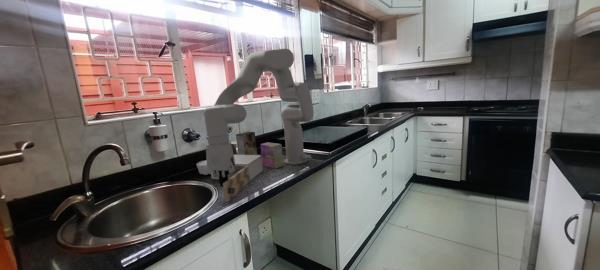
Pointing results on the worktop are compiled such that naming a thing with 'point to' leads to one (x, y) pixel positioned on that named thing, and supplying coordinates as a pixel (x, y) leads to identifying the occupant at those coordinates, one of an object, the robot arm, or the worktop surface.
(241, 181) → the door
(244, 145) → the coffee box
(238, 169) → the box
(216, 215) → the worktop surface
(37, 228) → the worktop surface
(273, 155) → the box
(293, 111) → the robot arm
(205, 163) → the ramekin
